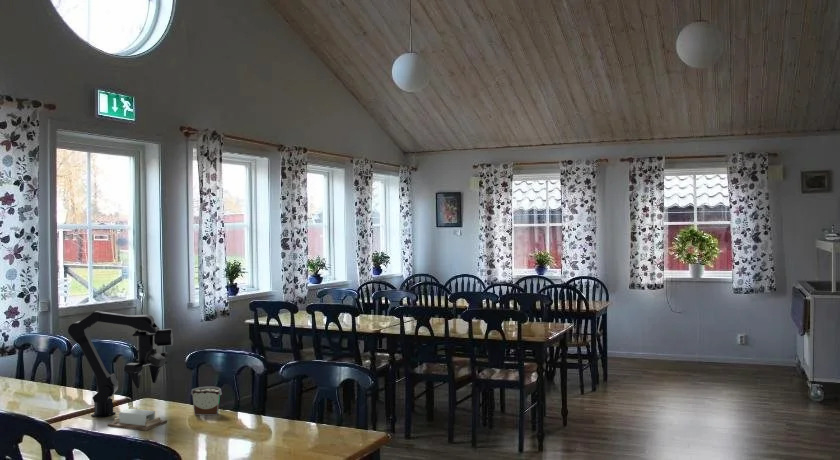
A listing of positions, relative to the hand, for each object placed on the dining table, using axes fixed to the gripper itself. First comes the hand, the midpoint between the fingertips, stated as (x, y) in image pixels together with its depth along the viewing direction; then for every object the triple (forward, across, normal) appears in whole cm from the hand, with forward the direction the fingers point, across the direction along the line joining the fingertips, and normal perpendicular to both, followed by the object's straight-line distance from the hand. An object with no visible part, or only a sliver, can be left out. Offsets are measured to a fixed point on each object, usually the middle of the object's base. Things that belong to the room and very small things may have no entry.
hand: (146, 385), depth 275 cm
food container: (+11, +8, -24) cm, 28 cm away
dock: (+11, -14, -8) cm, 19 cm away
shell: (+10, -14, -8) cm, 19 cm away
